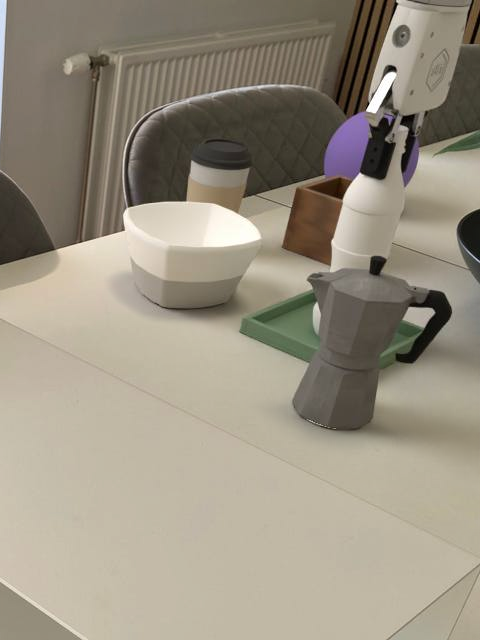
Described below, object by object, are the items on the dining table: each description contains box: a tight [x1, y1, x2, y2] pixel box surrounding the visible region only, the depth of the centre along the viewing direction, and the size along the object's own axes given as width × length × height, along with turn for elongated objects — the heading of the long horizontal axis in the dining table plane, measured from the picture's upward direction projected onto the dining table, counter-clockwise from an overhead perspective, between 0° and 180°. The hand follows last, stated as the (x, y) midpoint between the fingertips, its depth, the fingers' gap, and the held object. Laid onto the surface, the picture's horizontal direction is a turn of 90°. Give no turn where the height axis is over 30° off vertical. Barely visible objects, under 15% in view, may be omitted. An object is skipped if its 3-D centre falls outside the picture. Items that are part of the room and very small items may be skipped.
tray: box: [239, 288, 425, 370], centre depth 130 cm, size 18×18×2 cm
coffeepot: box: [291, 256, 453, 431], centre depth 109 cm, size 15×9×18 cm, turn 69°
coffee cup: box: [185, 137, 253, 214], centre depth 148 cm, size 9×9×15 cm
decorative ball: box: [323, 110, 420, 189], centre depth 168 cm, size 15×15×15 cm
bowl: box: [122, 201, 263, 309], centre depth 136 cm, size 18×18×9 cm
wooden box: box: [281, 174, 354, 267], centre depth 152 cm, size 12×12×9 cm
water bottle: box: [313, 124, 409, 336], centre depth 122 cm, size 7×7×25 cm
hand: (382, 171), depth 117 cm, fingers closed on water bottle, 3 cm apart
